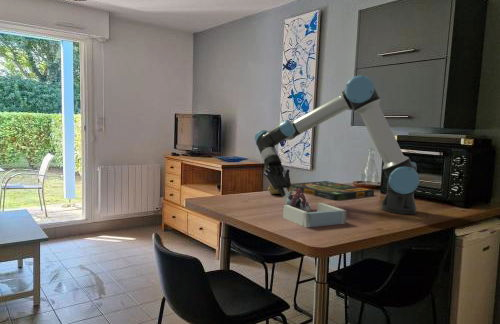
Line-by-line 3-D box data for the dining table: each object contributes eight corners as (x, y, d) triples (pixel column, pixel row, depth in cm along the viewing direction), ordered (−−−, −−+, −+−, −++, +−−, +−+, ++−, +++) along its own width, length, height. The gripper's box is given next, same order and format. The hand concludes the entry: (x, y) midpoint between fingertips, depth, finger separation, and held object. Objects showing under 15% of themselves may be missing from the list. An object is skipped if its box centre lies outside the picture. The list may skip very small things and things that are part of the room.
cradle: (283, 217, 150) (283, 205, 149) (320, 214, 159) (321, 202, 158) (305, 227, 136) (306, 213, 136) (345, 223, 145) (346, 210, 145)
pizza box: (325, 186, 241) (326, 181, 241) (373, 196, 214) (374, 190, 214) (286, 190, 219) (286, 184, 219) (333, 201, 192) (334, 194, 192)
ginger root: (288, 196, 189) (286, 180, 190) (261, 199, 198) (259, 184, 199) (301, 193, 203) (299, 178, 203) (276, 196, 211) (274, 182, 212)
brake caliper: (304, 213, 148) (290, 186, 152) (285, 225, 154) (272, 199, 158) (319, 209, 157) (305, 184, 161) (300, 220, 163) (287, 196, 167)
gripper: (279, 164, 180) (297, 205, 167) (255, 164, 174) (272, 207, 161) (286, 154, 175) (305, 196, 162) (262, 153, 168) (279, 197, 155)
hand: (288, 201), depth 161 cm, fingers closed
